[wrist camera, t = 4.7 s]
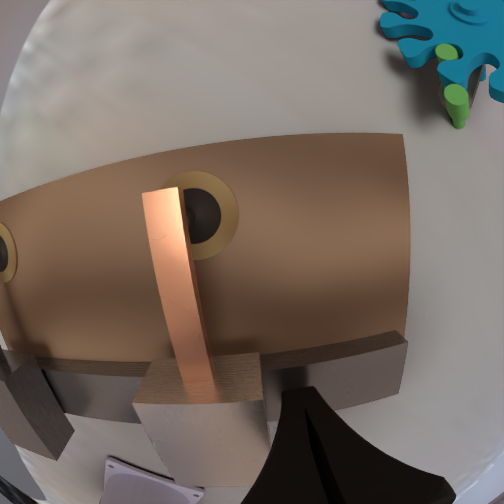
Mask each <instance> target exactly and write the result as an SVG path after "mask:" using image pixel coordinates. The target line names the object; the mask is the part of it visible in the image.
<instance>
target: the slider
mask: <svg viewBox="0 0 504 504" xmlns="http://www.w3.org/2000/svg"><path fill="white" fill-rule="evenodd" d="M142 199H143V206H144V213H145V220H146V226H147V232H148V238H149V244H150V249H151V255H152V260H153V265H154V270H155V275H156V280H157V284H158V289H159V293H160V298H161V302H162V306H163V311H164V315H165V319H166V323H167V327H168V331H169V334H170V338H171V342H172V345H173V349H174V353H175V356H176V358H175V359H153V360H152V362H151V364H150V366H149V368H148V370H147V372H146V374H145V377H144V379H143V381H142V383H141V385H140V387H139V389H138V391H137V393H136V395H135V397H134V399H133V402H132V404H133V406H134V408H135V410H136V413H137V415H138V417H139V419H140V421H141V423H142V425H143V427H144V429H145V430H146V432H147V434H148V436H149V438H150V440H151V442H152V443H153V445H154V447H155V449H156V451H157V452H158V454H159V456H160V457H161V459H162V461H163V463H164V464H165V466H166V467H167V469H168V471H169V472H170V474H171V475H172V477H173V479H174V480H175V482H176V483H177V485H179V486H196V487H238V486H253V484H254V483H255V481H256V479H257V477H258V475H259V474H260V472H261V470H262V468H263V466H264V464H265V461H266V459H267V457H268V454H269V452H270V449H271V439H270V431H269V424H268V417H267V409H266V402H265V394H264V387H263V379H262V372H261V364H260V356H259V352H255V353H246V354H236V355H224V356H212V354H211V349H210V345H209V340H208V335H207V331H206V326H205V321H204V316H203V311H202V306H201V301H200V295H199V290H198V284H197V279H196V273H195V267H194V262H193V256H192V249H191V243H190V237H189V230H188V229H189V228H191V227H192V226H193V224H194V222H195V215H194V213H193V211H192V210H191V209H190V208H188V207H185V202H184V195H183V187H174V188H168V189H163V190H157V191H152V192H146V193H142Z"/></svg>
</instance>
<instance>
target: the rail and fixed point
mask: <svg viewBox="0 0 504 504" xmlns="http://www.w3.org/2000/svg"><path fill="white" fill-rule="evenodd" d="M407 347H408V341H407V340H406V339H405V338H404V337H403V336H402V335H401V334H400V333H399V332H398V331H397V330H394V331H389V332H385V333H381V334H377V335H372V336H368V337H363V338H359V339H354V340H349V341H344V342H339V343H334V344H328V345H322V346H317V347H311V348H304V349H298V350H291V351H284V352H277V353H269V354H261V355H259V356H260V364H261V372H262V379H263V387H264V394H265V402H266V409H267V417H268V421H275V420H279V418H280V412H281V402H282V401H281V392H282V391H284V390H290V389H297V388H303V387H309V386H314V387H315V388H316V389H317V390H318V392H319V393H320V395H321V396H322V397H323V399H324V400H325V401H326V402H327V403H328V405H329V406H330V407H331V408H332V409H333V410H334V411H335V410H339V409H344V408H348V407H352V406H356V405H360V404H364V403H368V402H371V401H375V400H379V399H382V398H385V397H389V396H392V395H395V394H398V393H399V388H400V384H401V379H402V374H403V369H404V364H405V359H406V353H407ZM150 364H151V362H121V361H92V360H75V359H62V358H51V357H41V356H34V354H32V353H24V352H17V351H10V350H3V349H2V348H1V346H0V427H1V428H2V430H3V431H4V432H5V434H6V435H7V436H8V438H9V439H10V441H11V442H12V443H14V444H16V445H18V446H20V447H22V448H25V449H27V450H29V451H32V452H34V453H37V454H39V455H42V456H45V457H47V458H50V459H53V460H56V461H57V460H58V459H59V457H60V455H61V453H62V452H63V450H64V448H65V446H66V445H67V443H68V441H69V439H70V438H71V436H72V434H73V433H74V431H75V430H74V429H73V427H72V425H71V424H70V422H69V421H68V419H67V417H66V416H65V414H64V413H68V414H73V415H78V416H84V417H90V418H96V419H103V420H110V421H118V422H127V423H138V424H142V423H141V421H140V419H139V417H138V415H137V413H136V410H135V408H134V406H133V404H132V402H133V399H134V397H135V395H136V393H137V391H138V389H139V387H140V385H141V383H142V381H143V379H144V377H145V374H146V372H147V370H148V368H149V366H150Z"/></svg>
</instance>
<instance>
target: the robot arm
mask: <svg viewBox="0 0 504 504" xmlns="http://www.w3.org/2000/svg"><path fill="white" fill-rule="evenodd" d="M281 401H282V402H281V412H280V418H279V422H278V427H277V431H276V434H275V437H274V440H273V444H272V447H271V449H270V452H269V454H268V457H267V459H266V461H265V464H264V466H263V468H262V470H261V472H260V474H259V475H258V477H257V479H256V481H255V483H254V484H253V486H252V488H251V489H250V491H249V492H248V494H247V495H246V497H245V498H244V499H243V501H242V502H241V504H452V503H453V502H454V501H455V498H456V494H455V492H454V490H453V489H452V487H451V486H450V484H449V483H448V482H447V481H446V480H445V478H444V477H442V476H438V475H434V474H431V473H428V472H425V471H422V470H419V469H416V468H414V467H412V466H409V465H407V464H405V463H403V462H401V461H399V460H397V459H395V458H393V457H391V456H389V455H387V454H386V453H384V452H382V451H381V450H379V449H378V448H376V447H375V446H373V445H372V444H370V443H369V442H368V441H366V440H365V439H364V438H362V437H361V436H360V435H359V434H357V433H356V432H355V431H354V430H353V429H352V428H351V427H349V426H348V425H347V424H346V423H345V422H344V421H343V420H342V419H341V418H340V417H339V416H338V415H337V414H336V413H335V412H334V410H333V409H332V408H331V407H330V406H329V405H328V403H327V402H326V401H325V400H324V399H323V397H322V396H321V395H320V393H319V392H318V390H317V389H316V388H315V387H314V386H309V387H303V388H297V389H290V390H284V391H282V392H281ZM204 492H205V491H204V490H203V489H201V488H198V487H194V486H179V485H177V483H176V482H175V481H173V480H169V479H166V478H163V477H160V476H157V475H154V474H151V473H149V472H146V471H143V470H141V469H138V468H135V467H133V466H130V465H128V464H125V463H123V462H121V461H118V460H116V459H114V458H111V457H108V458H107V459H106V464H105V474H104V487H103V495H102V497H101V500H100V503H99V504H196V503H197V502H198V501H199V500H200V499H201V498H202V496H203V495H204ZM488 504H504V492H503V493H502V494H500V495H499V496H498V497H497V498H495V499H494V500H493V501H491V502H490V503H488Z"/></svg>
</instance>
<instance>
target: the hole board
mask: <svg viewBox="0 0 504 504" xmlns="http://www.w3.org/2000/svg"><path fill="white" fill-rule="evenodd" d="M174 187H183V195H184V202H185V207H188V208H190V209H191V210H192V211H193V213H194V215H195V222H194V224H193V226H192V227H191V228H189V229H188V230H189V237H190V243H191V249H192V256H193V262H194V267H195V273H196V279H197V284H198V290H199V295H200V301H201V306H202V311H203V316H204V321H205V326H206V331H207V335H208V340H209V345H210V349H211V354H212V356H224V355H236V354H246V353H255V352H259V355H261V354H269V353H277V352H284V351H291V350H298V349H304V348H311V347H317V346H322V345H328V344H334V343H339V342H344V341H349V340H354V339H359V338H363V337H368V336H372V335H377V334H381V333H385V332H389V331H394V330H397V331H398V332H399V333H400V334H401V335H402V336H403V337H404V332H405V324H406V315H407V305H408V292H409V275H410V204H409V188H408V176H407V165H406V156H405V148H404V141H403V134H386V133H323V134H301V135H286V136H273V137H262V138H252V139H243V140H235V141H227V142H220V143H213V144H206V145H200V146H194V147H188V148H182V149H177V150H171V151H166V152H161V153H156V154H152V155H147V156H142V157H138V158H134V159H129V160H125V161H121V162H117V163H113V164H109V165H106V166H102V167H98V168H95V169H91V170H88V171H84V172H81V173H78V174H74V175H71V176H68V177H65V178H62V179H59V180H56V181H53V182H50V183H47V184H44V185H41V186H38V187H36V188H33V189H30V190H28V191H25V192H22V193H20V194H17V195H15V196H12V197H10V198H7V199H5V200H3V201H0V330H1V333H2V336H3V338H4V341H5V343H6V345H7V348H8V350H10V351H17V352H24V353H32V354H34V356H41V357H51V358H62V359H75V360H92V361H121V362H152V360H153V359H175V358H176V356H175V353H174V349H173V345H172V342H171V338H170V334H169V331H168V327H167V323H166V319H165V315H164V311H163V306H162V302H161V298H160V293H159V289H158V284H157V280H156V275H155V270H154V265H153V260H152V255H151V249H150V244H149V238H148V232H147V226H146V220H145V213H144V206H143V199H142V193H146V192H152V191H157V190H163V189H168V188H174Z"/></svg>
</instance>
